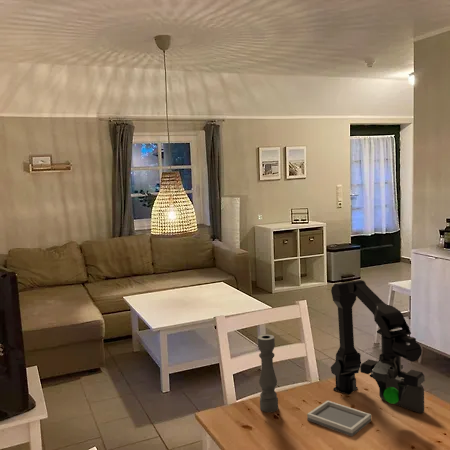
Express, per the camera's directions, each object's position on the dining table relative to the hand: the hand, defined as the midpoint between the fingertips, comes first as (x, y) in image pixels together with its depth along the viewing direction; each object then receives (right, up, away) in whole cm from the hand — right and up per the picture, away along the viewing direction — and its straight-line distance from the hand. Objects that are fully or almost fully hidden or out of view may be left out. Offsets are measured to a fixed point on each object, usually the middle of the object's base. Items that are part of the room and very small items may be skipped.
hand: (391, 398), depth 157 cm
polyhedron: (0, -2, 0) cm, 2 cm away
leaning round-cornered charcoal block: (+6, -6, +10) cm, 14 cm away
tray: (-16, -8, +3) cm, 18 cm away
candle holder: (-37, -8, +14) cm, 41 cm away
